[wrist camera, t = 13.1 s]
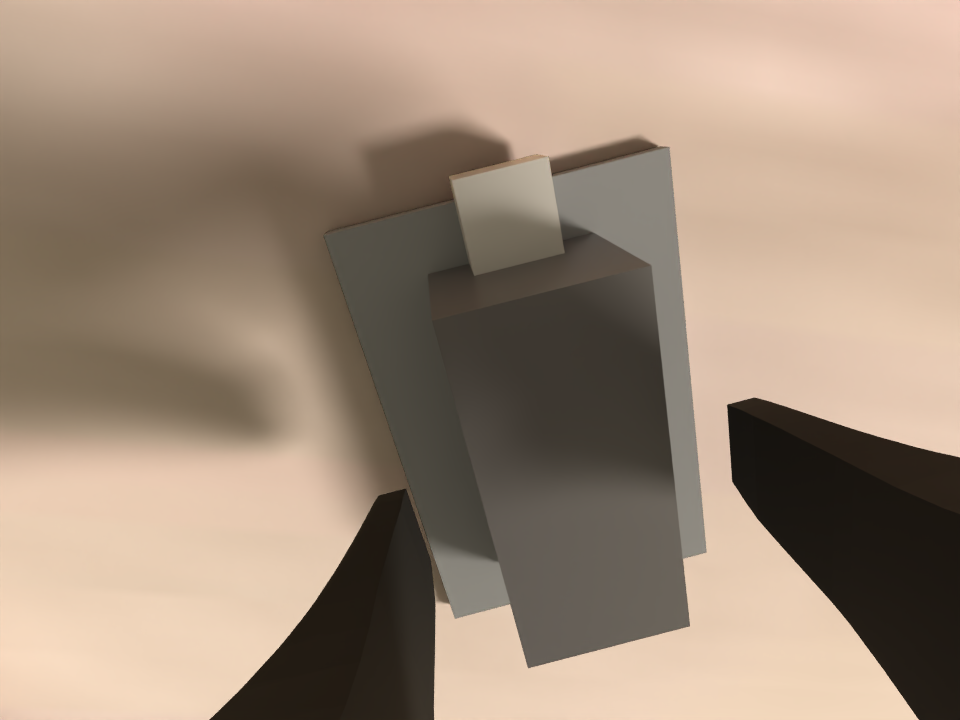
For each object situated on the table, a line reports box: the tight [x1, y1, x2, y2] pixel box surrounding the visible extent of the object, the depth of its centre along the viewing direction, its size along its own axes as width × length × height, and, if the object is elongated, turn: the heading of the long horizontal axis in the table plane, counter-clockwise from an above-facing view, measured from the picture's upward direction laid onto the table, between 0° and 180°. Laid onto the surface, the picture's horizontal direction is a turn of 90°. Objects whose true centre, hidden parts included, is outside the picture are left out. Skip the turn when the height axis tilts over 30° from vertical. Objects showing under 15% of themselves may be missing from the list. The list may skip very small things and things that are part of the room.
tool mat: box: [324, 146, 706, 619], centre depth 15 cm, size 12×8×1 cm, turn 13°
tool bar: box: [428, 154, 690, 668], centre depth 13 cm, size 11×4×4 cm, turn 13°
